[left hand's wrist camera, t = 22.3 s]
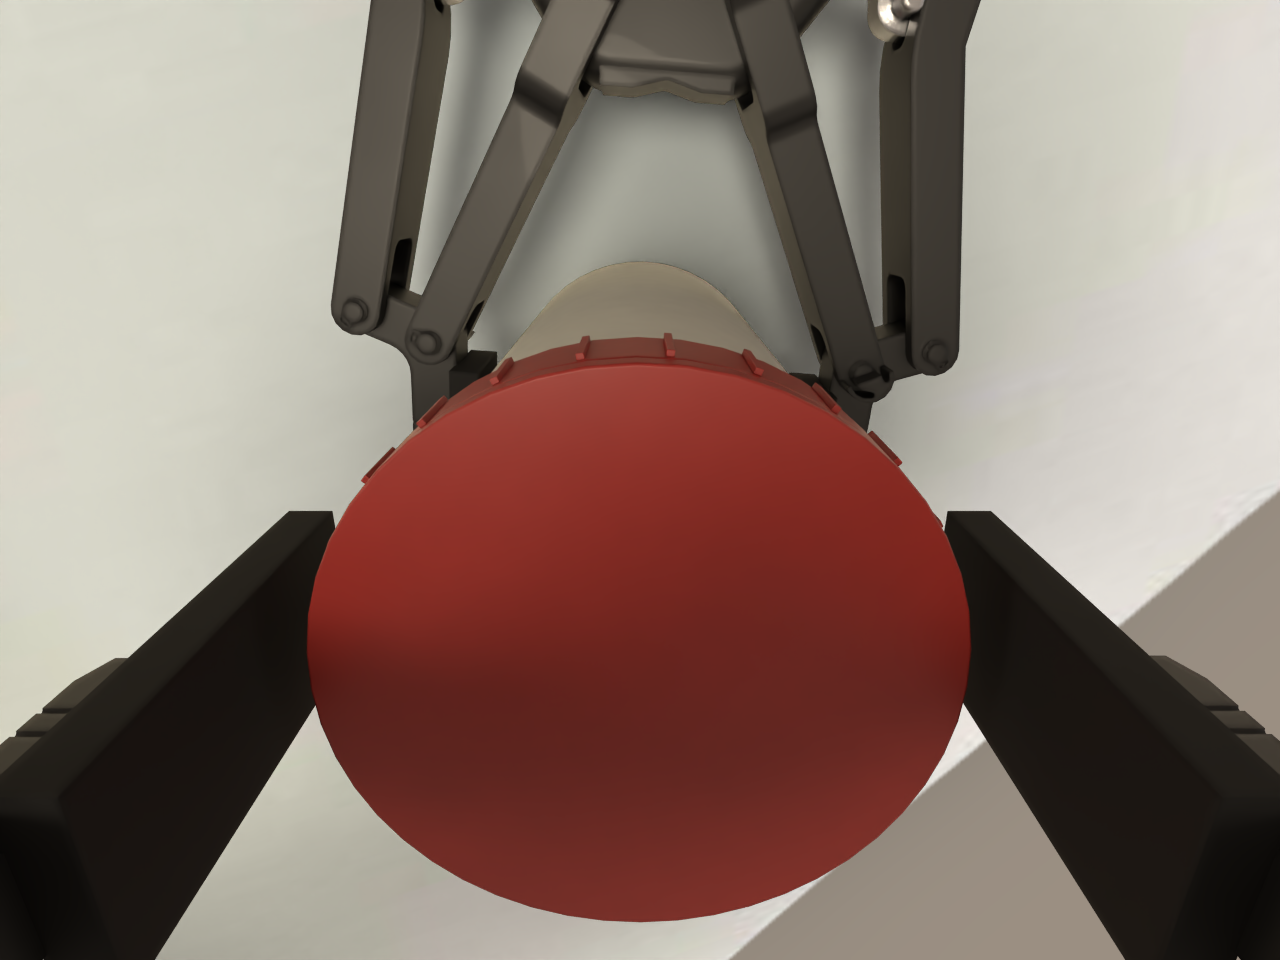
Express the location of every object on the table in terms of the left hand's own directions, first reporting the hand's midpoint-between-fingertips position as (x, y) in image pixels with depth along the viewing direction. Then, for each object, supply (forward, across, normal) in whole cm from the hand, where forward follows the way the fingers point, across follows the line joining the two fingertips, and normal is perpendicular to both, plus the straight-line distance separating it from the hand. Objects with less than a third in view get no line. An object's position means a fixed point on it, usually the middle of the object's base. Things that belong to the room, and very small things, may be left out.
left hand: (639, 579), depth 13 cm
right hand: (+8, 0, -5) cm, 9 cm away
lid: (-3, 0, 0) cm, 3 cm away
